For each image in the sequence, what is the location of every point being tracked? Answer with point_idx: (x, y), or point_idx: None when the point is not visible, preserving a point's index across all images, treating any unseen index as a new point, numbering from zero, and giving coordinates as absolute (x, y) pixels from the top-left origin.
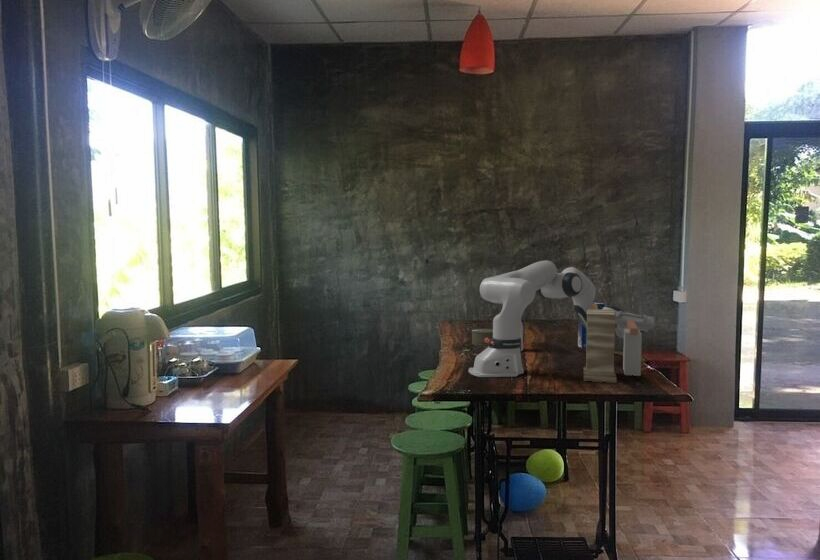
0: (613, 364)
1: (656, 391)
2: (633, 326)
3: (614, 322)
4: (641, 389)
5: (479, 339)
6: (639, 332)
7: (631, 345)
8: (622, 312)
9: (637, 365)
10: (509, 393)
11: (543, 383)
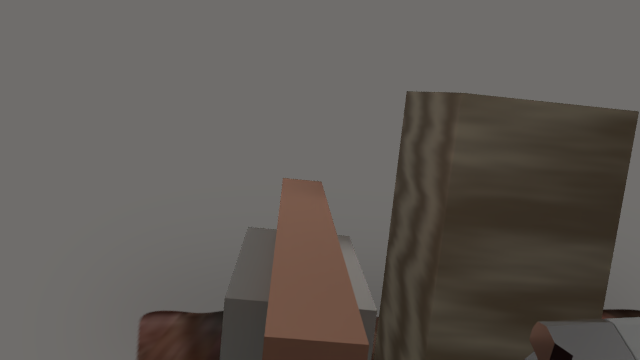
0: (380, 314)
1: (219, 331)
2: (303, 195)
3: (403, 126)
4: None
5: None
6: (255, 240)
7: None
8: (531, 339)
9: None
10: (616, 314)
11: None
